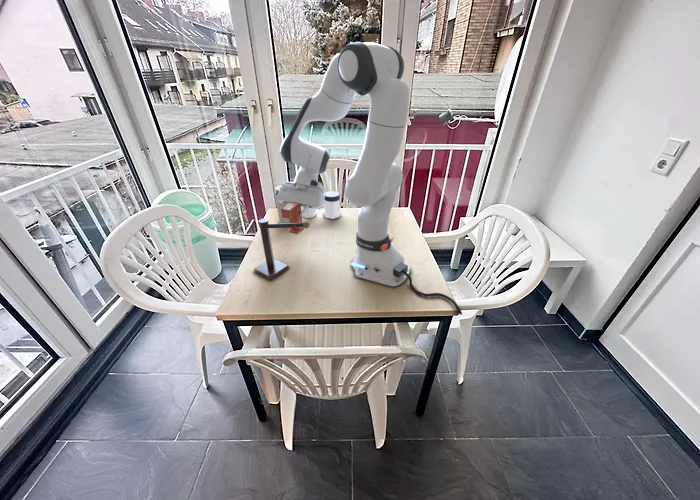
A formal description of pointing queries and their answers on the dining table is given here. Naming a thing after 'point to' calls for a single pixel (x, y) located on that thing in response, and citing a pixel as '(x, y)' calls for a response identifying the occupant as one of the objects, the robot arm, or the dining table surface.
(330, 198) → the jar
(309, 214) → the foam cup
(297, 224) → the peg stand
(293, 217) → the hook block
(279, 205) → the travel mug
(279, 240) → the dining table surface
